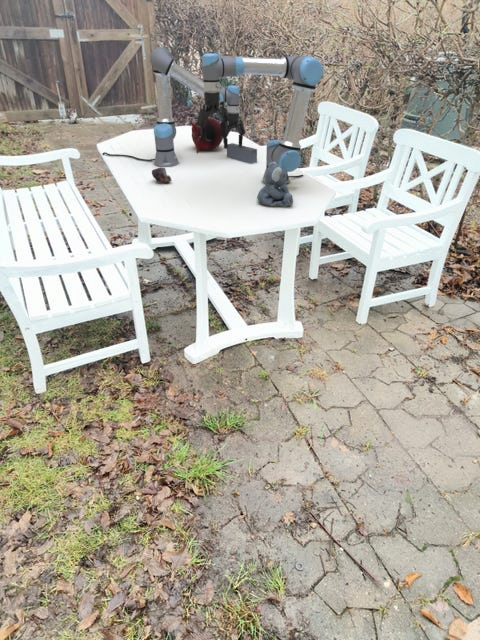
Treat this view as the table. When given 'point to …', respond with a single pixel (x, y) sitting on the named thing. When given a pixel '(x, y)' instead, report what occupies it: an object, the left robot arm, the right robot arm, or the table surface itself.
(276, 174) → the koala plush
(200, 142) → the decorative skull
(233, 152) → the bar
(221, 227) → the table surface
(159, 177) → the rock
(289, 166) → the right robot arm
